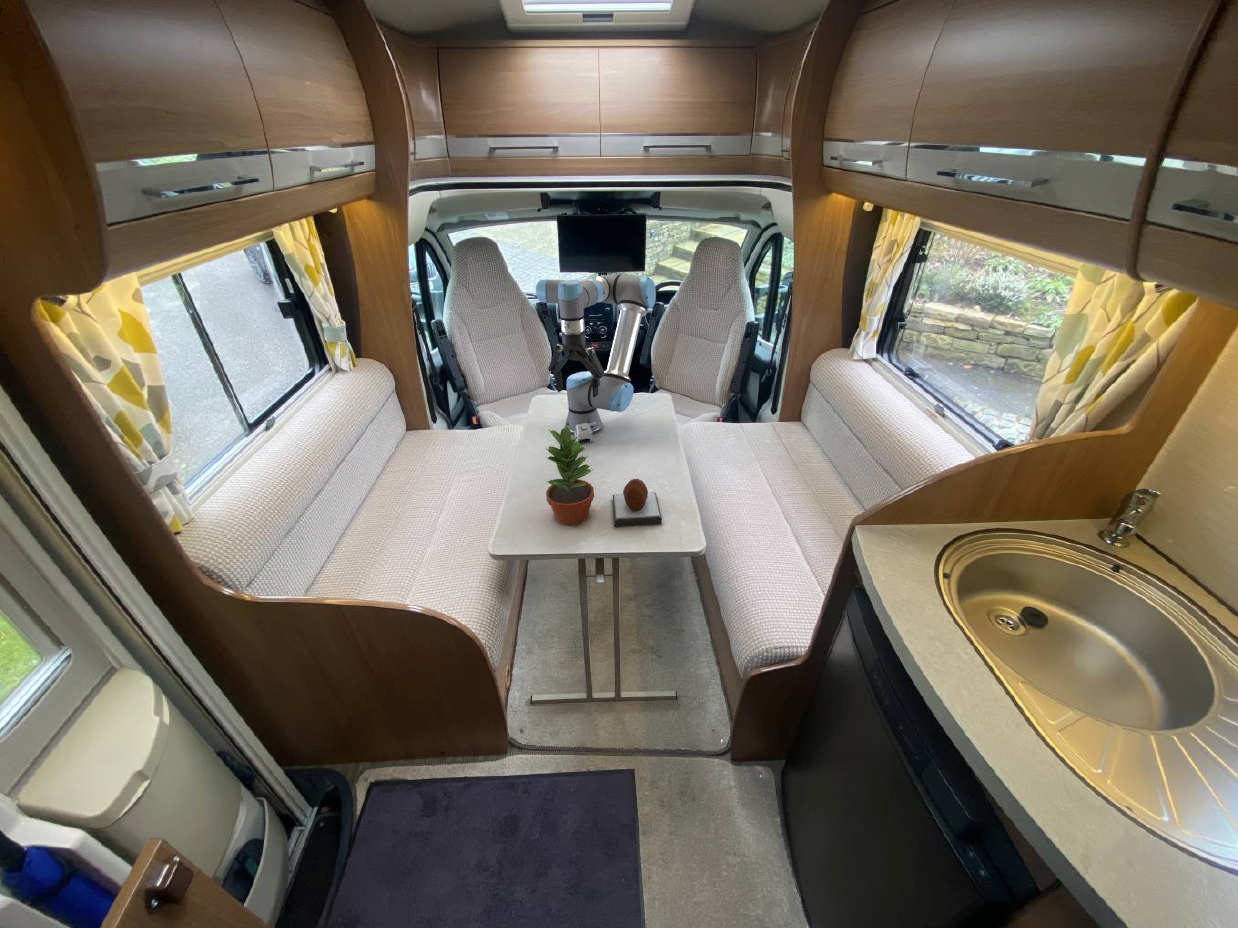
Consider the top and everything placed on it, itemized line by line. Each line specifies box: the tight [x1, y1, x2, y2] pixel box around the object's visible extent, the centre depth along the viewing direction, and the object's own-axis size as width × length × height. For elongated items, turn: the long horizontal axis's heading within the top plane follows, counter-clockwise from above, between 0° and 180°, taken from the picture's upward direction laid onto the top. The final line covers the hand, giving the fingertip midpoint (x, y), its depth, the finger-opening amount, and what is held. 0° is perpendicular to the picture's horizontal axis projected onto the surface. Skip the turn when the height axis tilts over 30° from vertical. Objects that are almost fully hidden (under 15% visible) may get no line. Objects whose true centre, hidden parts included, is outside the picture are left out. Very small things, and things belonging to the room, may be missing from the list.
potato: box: [622, 478, 649, 512], centre depth 152 cm, size 8×12×8 cm, turn 178°
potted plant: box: [545, 424, 595, 526], centre depth 147 cm, size 15×15×30 cm
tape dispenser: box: [574, 423, 593, 445], centre depth 195 cm, size 6×7×10 cm
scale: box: [612, 491, 662, 528], centre depth 155 cm, size 14×14×3 cm
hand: (577, 393), depth 171 cm, fingers open, 13 cm apart
